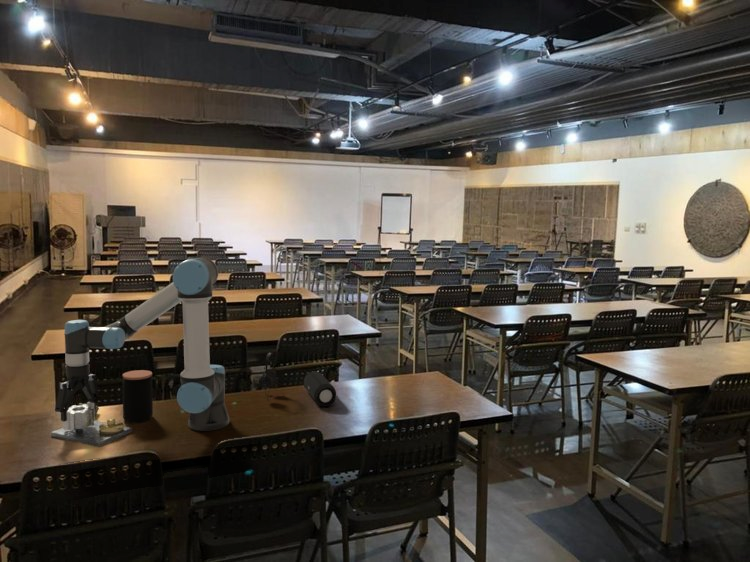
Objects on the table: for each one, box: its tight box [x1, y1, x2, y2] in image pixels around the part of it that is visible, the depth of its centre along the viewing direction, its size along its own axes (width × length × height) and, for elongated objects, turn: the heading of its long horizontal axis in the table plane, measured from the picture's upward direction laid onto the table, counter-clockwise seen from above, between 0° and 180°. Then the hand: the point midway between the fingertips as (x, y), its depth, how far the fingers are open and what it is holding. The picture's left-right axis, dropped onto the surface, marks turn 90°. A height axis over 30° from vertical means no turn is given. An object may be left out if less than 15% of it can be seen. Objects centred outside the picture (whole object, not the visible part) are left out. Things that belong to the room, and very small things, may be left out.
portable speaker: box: [303, 370, 337, 407], centre depth 249 cm, size 26×10×10 cm, turn 20°
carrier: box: [50, 410, 133, 448], centre depth 200 cm, size 22×15×8 cm
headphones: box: [258, 352, 277, 399], centre depth 248 cm, size 15×11×20 cm
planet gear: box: [68, 403, 94, 430], centre depth 200 cm, size 10×10×6 cm
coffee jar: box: [122, 369, 154, 424], centre depth 217 cm, size 11×11×18 cm
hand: (79, 424), depth 200 cm, fingers closed on planet gear, 10 cm apart
